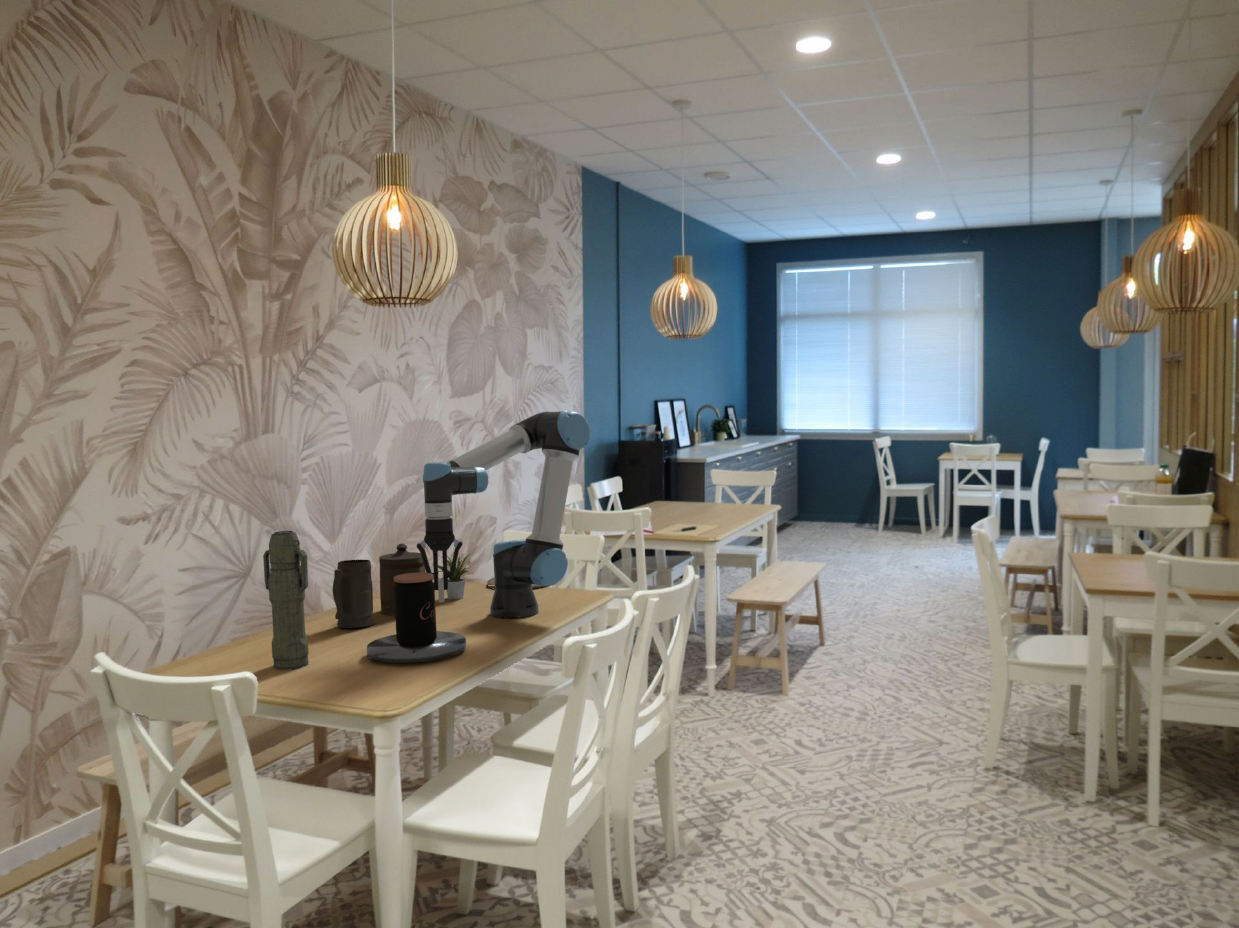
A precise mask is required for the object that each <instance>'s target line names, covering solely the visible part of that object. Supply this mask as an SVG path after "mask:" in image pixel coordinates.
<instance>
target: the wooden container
mask: <svg viewBox="0 0 1239 928" xmlns="http://www.w3.org/2000/svg"><path fill="white" fill-rule="evenodd" d="M396 549H397V550H396V551H395V553H388V554H383V555H380V556H379V562H378V563H379V595H380V596H379V597H380V612H381V614H383V615H386V616H395V598H394V586H395V584H396V583H395V581H394V577H395V576H397V575H401V574H407V573H426V570H425V566H424V563H423V559H422V556H421V552H415V551H413V552H410V551H408V550H407V549H408V545H407V544H405V543H398V545H396Z"/></svg>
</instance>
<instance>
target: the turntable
mask: <svg viewBox="0 0 1239 928" xmlns="http://www.w3.org/2000/svg"><path fill="white" fill-rule="evenodd" d="M436 631H437V638H436V639H435V641H434V642H433V643H431V644H429V645H424V646H417V647H406V646H401V645H399V643H398V642H397V640H396V634H391V635H386V636H382V637H380V638H377V639H375V640H372V641H371V642H369V643H368V644H367V645H366V656H367V657H368V658H369V659H370V660H373V661H377V662H381V663H389V664H390V663H391V664H392V663H394V664H404V663H405V664H409V663H412V664H413V663H420V662H422V663H423V662H430V661H436V660H441V659H446V658H448V657H453V656H454V655H458V654H460V653H462V652H463V651H464V650H465V649H466V647H467V639H466V638H467V637H465V636H464V635H462V634H461V633H458V632H452V631H443V630H442V631H441V630H440V631H439V630H436Z"/></svg>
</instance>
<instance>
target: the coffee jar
mask: <svg viewBox="0 0 1239 928" xmlns="http://www.w3.org/2000/svg"><path fill="white" fill-rule="evenodd" d="M432 573H433V572H432ZM432 573H426V572H425V573H407V574H401V575H397V576H395V577H394V581H395V583H396V584H395V586H394V598H395V615H394V617H395V633H396V640H397V642H398V643H399V645H401V646H406V647H417V646H424V645H429V644H431V643H433V642H434V641H435V639H436V638H437V631H438V630H437V614H436V613H437V612H436V610H437V609H436V590H435V587H434V574H432Z"/></svg>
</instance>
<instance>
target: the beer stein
mask: <svg viewBox="0 0 1239 928" xmlns="http://www.w3.org/2000/svg"><path fill="white" fill-rule="evenodd" d="M371 563H372V562H371V559H346V560H341V561H338V563H337V567H336V568H337V569H336V568H335V570H334V571H333V572H334V574H333V575H334V576H333V583H332V597H333V601H334V604H335V607H336V613H335V615H334V619H335V620H337V624H336V626H337V627H338V628H346V629H348V628H349V629H351V628H364V627H370V626H373V625H374V617H373V614H374V596H373V595H374V593H373V591H374V589H373V588H374V587H373V580H372V564H371Z"/></svg>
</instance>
